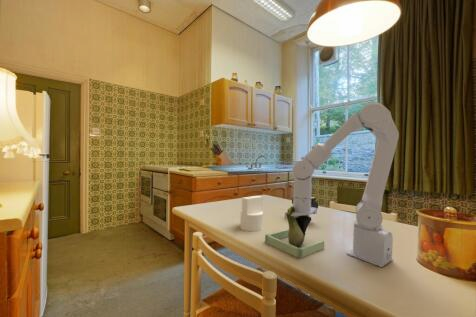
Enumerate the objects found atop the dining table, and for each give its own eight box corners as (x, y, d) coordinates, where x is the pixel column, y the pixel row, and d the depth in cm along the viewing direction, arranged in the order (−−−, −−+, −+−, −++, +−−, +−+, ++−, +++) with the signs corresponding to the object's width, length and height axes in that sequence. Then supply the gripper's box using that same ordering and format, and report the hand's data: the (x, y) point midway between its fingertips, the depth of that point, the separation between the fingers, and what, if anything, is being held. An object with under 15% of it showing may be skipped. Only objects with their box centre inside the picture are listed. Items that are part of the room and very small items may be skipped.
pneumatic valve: (310, 225, 93) (311, 196, 92) (290, 218, 103) (291, 192, 103) (319, 223, 95) (320, 196, 95) (299, 216, 105) (300, 191, 105)
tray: (323, 248, 69) (324, 241, 69) (299, 258, 62) (300, 250, 62) (289, 234, 81) (289, 228, 81) (265, 242, 73) (265, 234, 73)
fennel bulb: (297, 237, 75) (290, 204, 73) (309, 241, 71) (302, 206, 69) (285, 245, 72) (278, 211, 70) (297, 250, 68) (289, 214, 66)
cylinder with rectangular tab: (251, 232, 82) (252, 200, 82) (235, 226, 89) (236, 196, 88) (267, 228, 88) (268, 197, 88) (251, 222, 95) (252, 194, 94)
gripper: (305, 193, 81) (304, 230, 81) (278, 197, 72) (276, 238, 73) (323, 196, 75) (321, 236, 76) (295, 201, 67) (293, 245, 67)
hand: (300, 237), depth 74 cm, fingers closed, pressing on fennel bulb
